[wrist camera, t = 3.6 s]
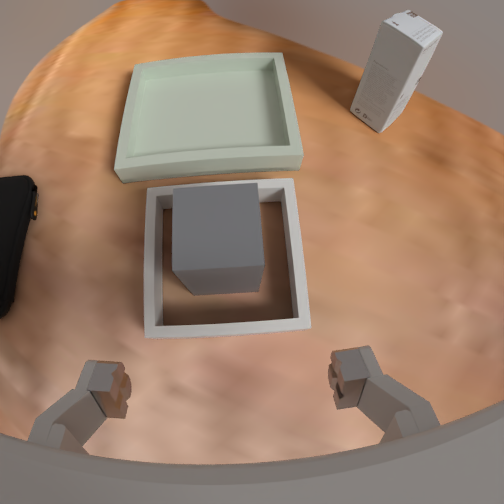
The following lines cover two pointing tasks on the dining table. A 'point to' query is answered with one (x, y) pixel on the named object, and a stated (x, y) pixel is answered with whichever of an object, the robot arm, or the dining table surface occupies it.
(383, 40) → the skincare box
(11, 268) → the carrying case or bag
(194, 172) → the tray
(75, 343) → the dining table surface
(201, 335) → the frame
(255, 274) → the matte grey square block
